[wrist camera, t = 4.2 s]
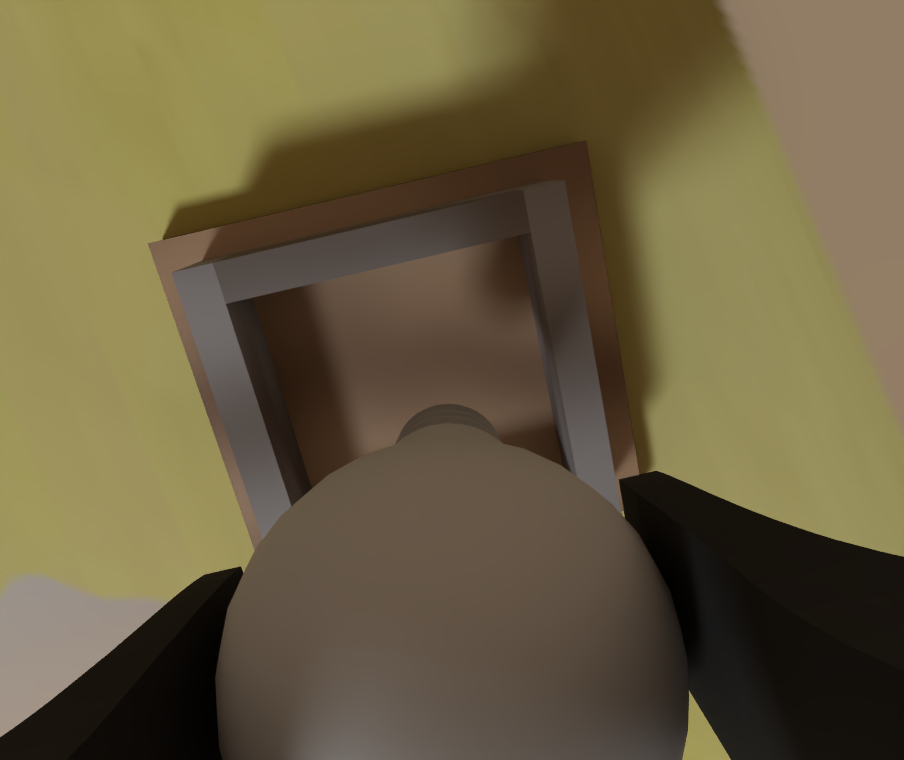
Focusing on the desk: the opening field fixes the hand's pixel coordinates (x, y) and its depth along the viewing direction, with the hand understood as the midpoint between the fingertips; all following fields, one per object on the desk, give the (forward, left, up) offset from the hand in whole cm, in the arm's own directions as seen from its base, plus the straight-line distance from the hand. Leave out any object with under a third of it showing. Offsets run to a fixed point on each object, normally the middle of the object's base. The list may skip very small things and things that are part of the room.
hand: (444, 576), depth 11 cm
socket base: (0, 0, -10) cm, 11 cm away
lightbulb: (0, 0, -6) cm, 6 cm away
